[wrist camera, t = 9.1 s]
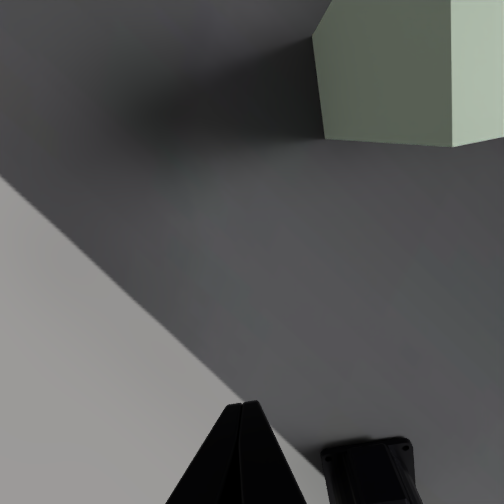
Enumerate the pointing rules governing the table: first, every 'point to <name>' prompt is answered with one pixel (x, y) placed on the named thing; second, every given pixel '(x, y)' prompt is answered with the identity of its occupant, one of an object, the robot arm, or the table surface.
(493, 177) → the table surface
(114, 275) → the table surface
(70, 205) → the table surface
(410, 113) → the head tile
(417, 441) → the table surface
